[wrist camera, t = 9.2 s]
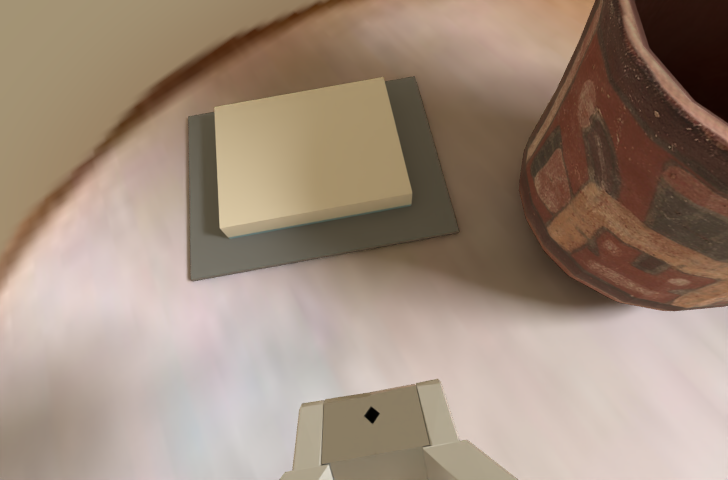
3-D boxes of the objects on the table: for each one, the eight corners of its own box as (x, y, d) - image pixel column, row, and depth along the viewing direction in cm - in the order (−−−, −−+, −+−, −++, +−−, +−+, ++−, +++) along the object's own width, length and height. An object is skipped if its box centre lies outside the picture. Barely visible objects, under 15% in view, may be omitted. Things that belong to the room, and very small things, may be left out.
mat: (414, 79, 37) (414, 76, 37) (458, 232, 32) (459, 230, 31) (190, 119, 37) (188, 116, 37) (193, 281, 31) (190, 279, 31)
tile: (411, 205, 32) (383, 93, 36) (412, 193, 30) (383, 76, 35) (229, 238, 32) (223, 122, 36) (219, 228, 30) (214, 106, 34)
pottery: (779, 349, 27) (1384, 250, 11) (500, 322, 29) (648, 200, 12) (722, 124, 34) (1042, -154, 17) (498, 113, 35) (593, -151, 19)
